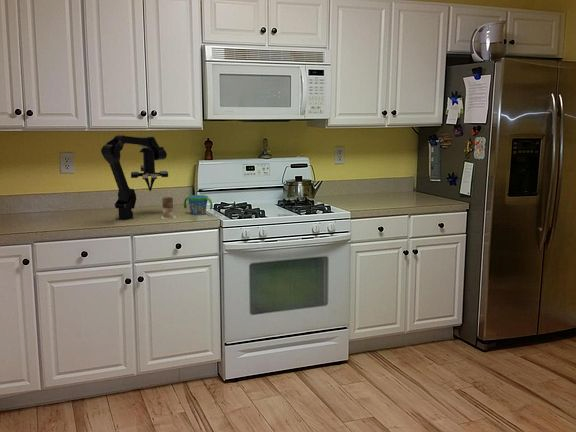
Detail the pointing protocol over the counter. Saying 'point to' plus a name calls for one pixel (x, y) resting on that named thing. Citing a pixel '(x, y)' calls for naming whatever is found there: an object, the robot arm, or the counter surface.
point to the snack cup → (198, 204)
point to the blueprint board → (166, 218)
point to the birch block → (168, 213)
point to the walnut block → (167, 202)
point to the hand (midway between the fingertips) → (150, 190)
